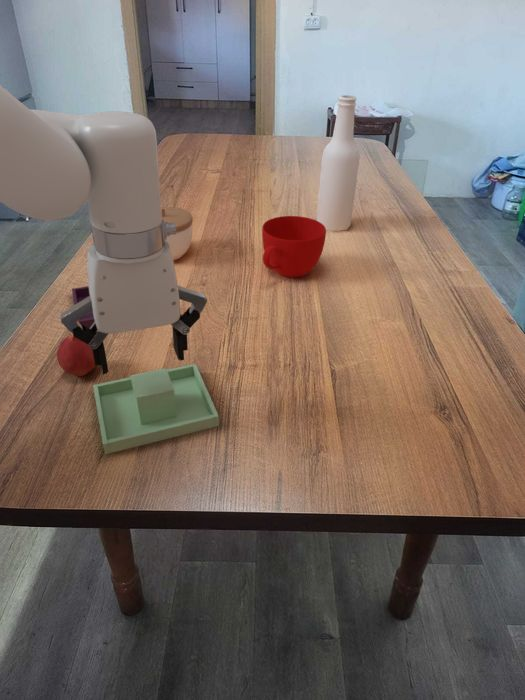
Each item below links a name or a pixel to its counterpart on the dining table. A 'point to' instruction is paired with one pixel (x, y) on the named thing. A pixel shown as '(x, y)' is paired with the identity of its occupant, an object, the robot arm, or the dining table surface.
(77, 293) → the plum tray
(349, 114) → the alcohol
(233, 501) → the dining table surface
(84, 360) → the red pomegranate
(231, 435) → the dining table surface
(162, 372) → the sage block
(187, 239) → the lidded bowl
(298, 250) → the ceramic cup
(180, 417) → the sage tray
